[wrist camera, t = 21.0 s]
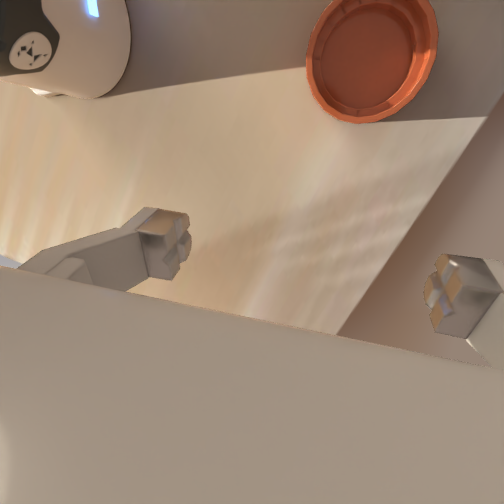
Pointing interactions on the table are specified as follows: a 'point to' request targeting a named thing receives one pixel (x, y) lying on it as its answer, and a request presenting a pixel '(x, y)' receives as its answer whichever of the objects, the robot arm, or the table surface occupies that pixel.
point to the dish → (370, 57)
